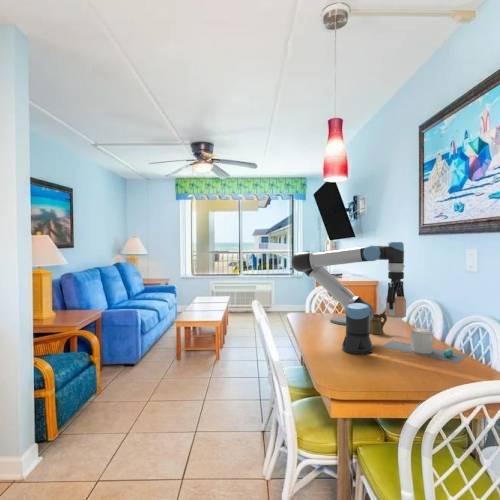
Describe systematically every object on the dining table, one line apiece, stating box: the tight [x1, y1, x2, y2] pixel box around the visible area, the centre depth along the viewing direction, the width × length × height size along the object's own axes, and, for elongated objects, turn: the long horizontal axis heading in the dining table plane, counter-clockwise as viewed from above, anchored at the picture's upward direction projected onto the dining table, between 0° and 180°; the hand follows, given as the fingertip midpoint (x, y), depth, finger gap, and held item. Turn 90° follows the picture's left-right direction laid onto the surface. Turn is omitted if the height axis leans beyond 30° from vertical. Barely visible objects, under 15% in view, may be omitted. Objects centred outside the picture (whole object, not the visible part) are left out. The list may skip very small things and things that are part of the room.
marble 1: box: [443, 350, 451, 357], centre depth 161 cm, size 3×3×3 cm
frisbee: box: [330, 316, 346, 326], centre depth 239 cm, size 20×27×3 cm
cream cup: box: [410, 327, 434, 353], centre depth 171 cm, size 9×9×10 cm
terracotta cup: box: [385, 295, 407, 319], centre depth 180 cm, size 9×9×10 cm
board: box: [379, 340, 468, 364], centre depth 171 cm, size 16×36×2 cm, turn 44°
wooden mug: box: [369, 307, 388, 335], centre depth 211 cm, size 9×14×18 cm, turn 75°
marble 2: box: [445, 348, 454, 355], centre depth 163 cm, size 3×3×3 cm
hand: (395, 314), depth 180 cm, fingers closed on terracotta cup, 9 cm apart
